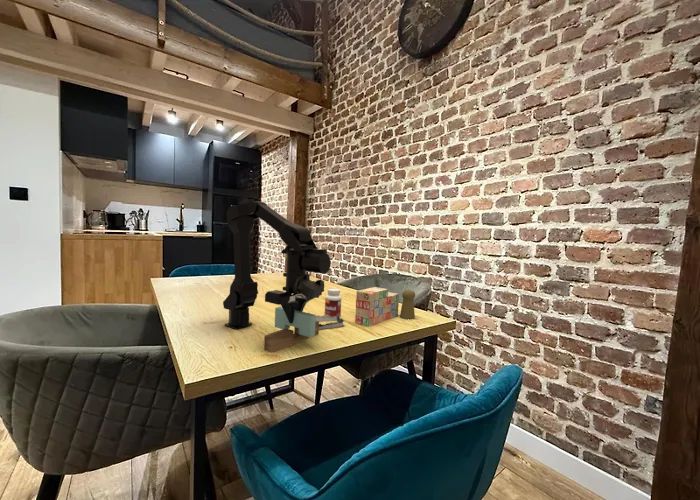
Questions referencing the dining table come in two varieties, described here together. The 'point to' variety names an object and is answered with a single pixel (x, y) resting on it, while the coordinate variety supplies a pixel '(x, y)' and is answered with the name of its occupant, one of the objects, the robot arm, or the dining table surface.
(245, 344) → the dining table surface
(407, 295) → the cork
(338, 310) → the pill bottle
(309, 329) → the teal plate
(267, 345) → the walnut board
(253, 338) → the dining table surface
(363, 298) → the stack of blocks
